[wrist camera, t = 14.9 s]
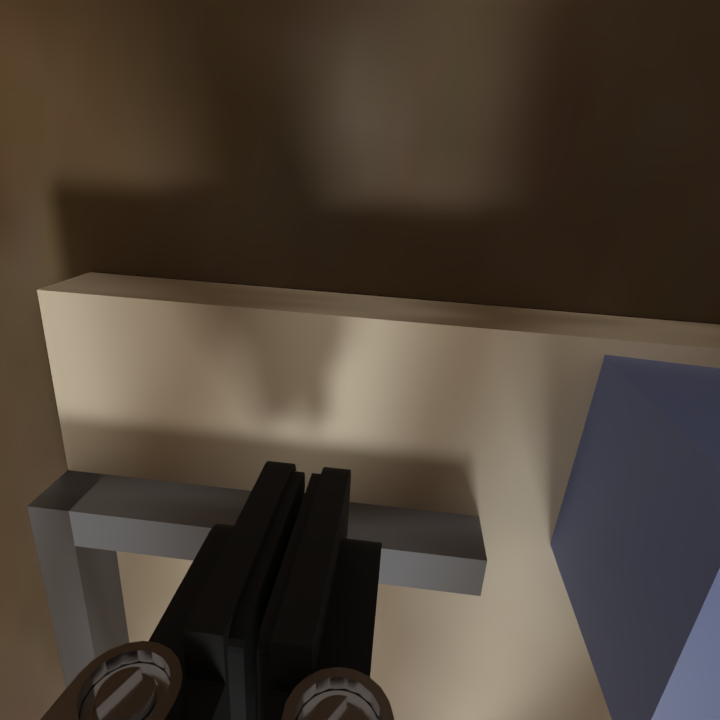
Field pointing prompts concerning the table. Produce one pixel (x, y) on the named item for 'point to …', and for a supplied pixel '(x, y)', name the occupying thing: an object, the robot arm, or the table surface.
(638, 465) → the indigo block
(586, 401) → the board
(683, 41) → the table surface
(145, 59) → the table surface
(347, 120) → the table surface
